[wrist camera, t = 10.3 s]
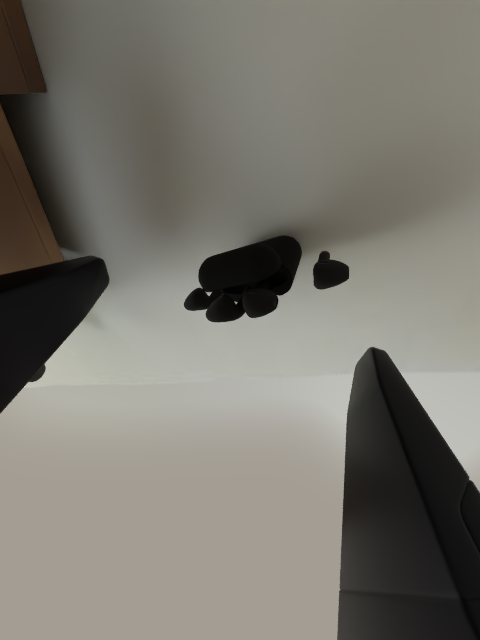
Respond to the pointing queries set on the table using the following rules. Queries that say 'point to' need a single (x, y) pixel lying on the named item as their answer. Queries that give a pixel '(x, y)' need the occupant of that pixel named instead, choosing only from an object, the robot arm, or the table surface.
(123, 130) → the table surface
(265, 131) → the table surface
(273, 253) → the wireless earbuds
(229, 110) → the table surface
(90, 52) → the table surface
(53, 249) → the drawer
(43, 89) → the cabinet
